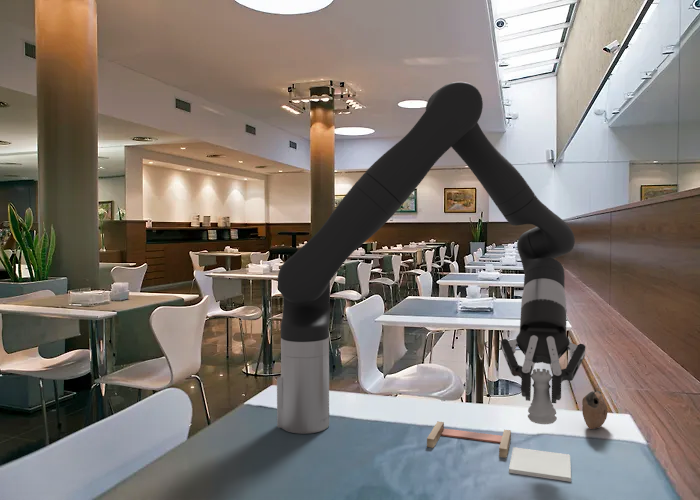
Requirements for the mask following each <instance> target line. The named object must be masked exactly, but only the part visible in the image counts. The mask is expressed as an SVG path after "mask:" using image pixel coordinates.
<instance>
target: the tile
mask: <svg viewBox="0 0 700 500" xmlns="http://www.w3.org/2000/svg"><path fill="white" fill-rule="evenodd" d="M509 462H510V463H509V466H508V467H509V468H508V473H509V474H514V475H516V474H517V475H521V476H529V477H536V478H542V479H550V480H556V481H563V482H570V483H572V470H571V469H572V467H571V455H570V454H568V453H567V454H566V453H560V452H553V451H545V450H537V449H536V450H535V449H529V448H521V447H516V446H514V447H513V446H512V452H511V456H510V461H509Z"/></svg>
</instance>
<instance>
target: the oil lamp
mask: <svg viewBox="0 0 700 500" xmlns="http://www.w3.org/2000/svg"><path fill="white" fill-rule="evenodd" d="M581 405H582V408H581V409H582V412H581V413H582V417H583V420H584V422H585V425H586V426H587V427H588V429H590V430H594V429H595V430H596V429H599V428H602V426H604V424H605V421H606V420H607V417H608V405H607V403H606V401H605V399H604V397H603V394H602V391H601V390H597V391H590V392H589V393H587V394H586V395H584V396H583V398H582V400H581Z"/></svg>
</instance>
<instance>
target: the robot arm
mask: <svg viewBox="0 0 700 500" xmlns="http://www.w3.org/2000/svg"><path fill="white" fill-rule="evenodd" d="M483 101H484V100H483V98H482V94H481V92H480V91H479V89H478V88H477V87H476V86H474V84H472V83H469V82H465V81H454V82H450V83H447V84H445V85H443V86H441V87H440V88H439V89H437V90H435V92H433V93H432V94H431V96H430V97H429V98H428V100H427V102H426V105H425V111H424V113H423V114H422V116H420V118H419V119H418V120H417V122H415V124H414V125H413V126H412V128H411V129H410V130H409V131H408V133H407V134H406V135H405V136H404V137H402V138H401V139H400V140H399V141H398V142H396V143H395V144H394V145H393V146H392V147H391V148H389V149H388V150H387V151H386V152H384V154H382V155H381V156H380V157H379V158H377V160H376V161H374V163H373V164H372V165H370V167H368V168H367V169H366V171H365V172H364V173H362V175H361V177H359V179H358V180H357V181H356V182H355V183H354V184H353V185H352V187H351V188H350V189H349V190H348V192H347V193H346V194H345V196H344V197H343V198H342V199H341V200H340V202H339V203H338V204H337V206H336V207H335V209H334V210H333V212H331V214H330V215H329V217H328V219H327V220H326V221H325V222H324V224H323V225H322V227H320V229H319V230H318V231H317V232H315V234H314V235H313V236H312V237H311V238H310V239H309V240H308V241H307V242H306V243H305V244H304V245H302V247H300V248H299V249H298V250H297V251H296V252H295V253H294V254H292V255H291V256H290V257H289V258H288V259H287V260H285V261H284V263H282V265H281V266H280V268H279V270H278V274H277V287H278V290H279V293H280V294H281V296H282V298H283V307H282V317H281V318H282V319H281V323H280V376H278V377H277V378H276V405H277V406H276V414H277V416H276V420H277V421H276V422H277V423H276V425H277V426H276V427H277V428H279V429H280V428H281V429H283V430H284V431H286V432H289V433H293V434H306V435H307V434H314V433H319V432H323V431H324V430H326V429H328V427H330V341H329V340H330V320H331V319H330V318H331V280H332V279H333V277H334V276H335V274H336V273H337V272H338V271H339V269H340V268H341V267H342V265H343V264H344V263H345V262H346V261H347V259H349V257H350V256H351V255H352V254H353V253H354V252H355V251H356V250H357V249H359V248H360V247H361V246H362V245H363V244H364V243H365V242H366V241H368V240H369V239H370V238H372V237H373V236H374V235H375V234H376V233H377V232H378V231H379V230H380V229H381V228H382V227H383V226H384V225H385V224H386V223H387V222H388V221H390V219H391V218H392V217H393V216H394V215H395V213H396V212H397V211H399V209H400V208H401V207H402V205H404V204H405V202H406V201H407V199H408V198H409V197H410V196H411V194H413V192H415V190H416V188H417V187H418V186H419V185H420V184H421V182H422V181H423V180H424V178H426V176H427V174H428V173H429V172H430V170H431V169H432V168H433V166H434V165H435V164H436V163H437V162H438V160H439V159H440V158H441V157H442V156H443V155H445V153H446V152H447V151H449V149H451V148H452V149H453V151H455V152H456V154H457V155H458V156H459V157H460V158H461V159H462V161H463V162H464V163H465V164H466V166H467V167H468V168H469V170H470V171H471V172H472V173H473V175H474V176H475V178H476V179H477V180H478V181H479V183H480V185H481V186H482V188H483V189H484V190H485V192H486V193H487V194H488V196H489V197H490V199H491V200H492V201H493V203H494V204H495V206H496V208H498V210H499V211H500V213H501V214H502V215H503V217H504V219H505V220H506V221H507V222H508V224H510V225H511V226H522V225H533V226H535V227H533V228H530V229H529V230H527V231H525V232H522V234H521V235H520V236H519V237H518V240H517V243H516V248H517V252H518V255H519V257H520V261H521V265H522V268H523V273H524V277H523V280H524V281H523V292H522V295H521V303H520V321H519V333H518V334H517V336H516V338H515V339H512V340H508V339H506V338H504V339H501V341H500V344H501V350H502V354H503V356H504V358H505V361H506V364H507V366H508V368H509V372H510V373H511V375H512V376H513V377H519V378H520V379H521V382H520V383H521V385H520V391H521V396H522V397H524V398H525V401H528V402H530V401H531V396H532V395H531V394H532V393H531V392H532V391H531V389H532V378H531V375H532V373H533V370H534V367H535V364H539V363H540V364H541V363H543V364H546V365H547V364H548V365H549V367H550V372H551V376H552V378H551V403H552V404H557V401H561V400H562V399H561V398H562V383H563V382H564V381H568V382H570V381H573V380H574V378H575V376H576V374H577V372H578V370H579V368H580V367H581V365H582V362H583V360H584V359H585V356H586V345H585V344H583V343H578V344H575V343H572V342H570V339H569V338H568V336H567V298H566V292H565V279H566V278H565V269H564V267H563V264H562V263H561V262H560V261H558V260H557V259H556V258H559V257H562V256H564V255H566V254H568V253H570V252H571V251H572V250H573V249H574V247H575V241H576V240H575V238H576V237H575V234H574V233H573V230H572V229H571V227H570V226H569V224H568V223H566V221H564V219H562V218H561V217H560V216H559V215H558V214H556V213H555V212H554V211H552V210H551V209H550V208H549V207H547V206H546V205H545V204H544V203H543V202H542V201H540V199H539V198H538V197H537V195H536V194H535V192H534V191H533V190H532V188H531V187H530V185H529V184H528V183H527V181H526V179H525V178H524V177H523V176H522V174H521V173H520V172H519V171H518V169H517V168H516V167H515V166H514V165H513V164H512V163H511V162H510V161H509V160H508V159H507V158H506V157H504V155H503V154H501V152H500V151H498V149H496V147H495V146H494V145H493V144H492V142H491V141H490V140H489V138H488V137H487V136H486V134H484V131H483V130H482V128H481V126H480V125H479V120H480V118H481V115H482V112H483V108H484V104H483V103H484V102H483ZM516 348H518V349H519V350H520V351H521V352H522V354H523V355H524V361H523V364H522V365H520V364H519V363H518V361H517V358H516V356H515V353H517V352H516ZM567 351H569V356H570V357H569V358H570V359H569V362H568V364H567V365H566V367H565V368H562V369H561V363H560V358H562V357H563V356H564V354H566V352H567Z"/></svg>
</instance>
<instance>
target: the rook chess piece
mask: <svg viewBox="0 0 700 500" xmlns="http://www.w3.org/2000/svg"><path fill="white" fill-rule="evenodd" d="M552 376H553V375H552V374H550V370H549V369H546V368H542V371H541V369H540V368H536V369H534V368H533V370H532V373H531V380H533V384H531V387H533V395H532V402H531V403H530V406H528V410H527V411H528V414H527V418H528V420H530V422H532V423H534V424H538V425H552V424H554V423H555V422H556V421H557V420H558V419H557V416H556V415H557V411H556V408H554V403H552V398H551V395H550V394H551V393H550V389H551V388H552V385H551V384H550V381H552Z"/></svg>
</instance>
